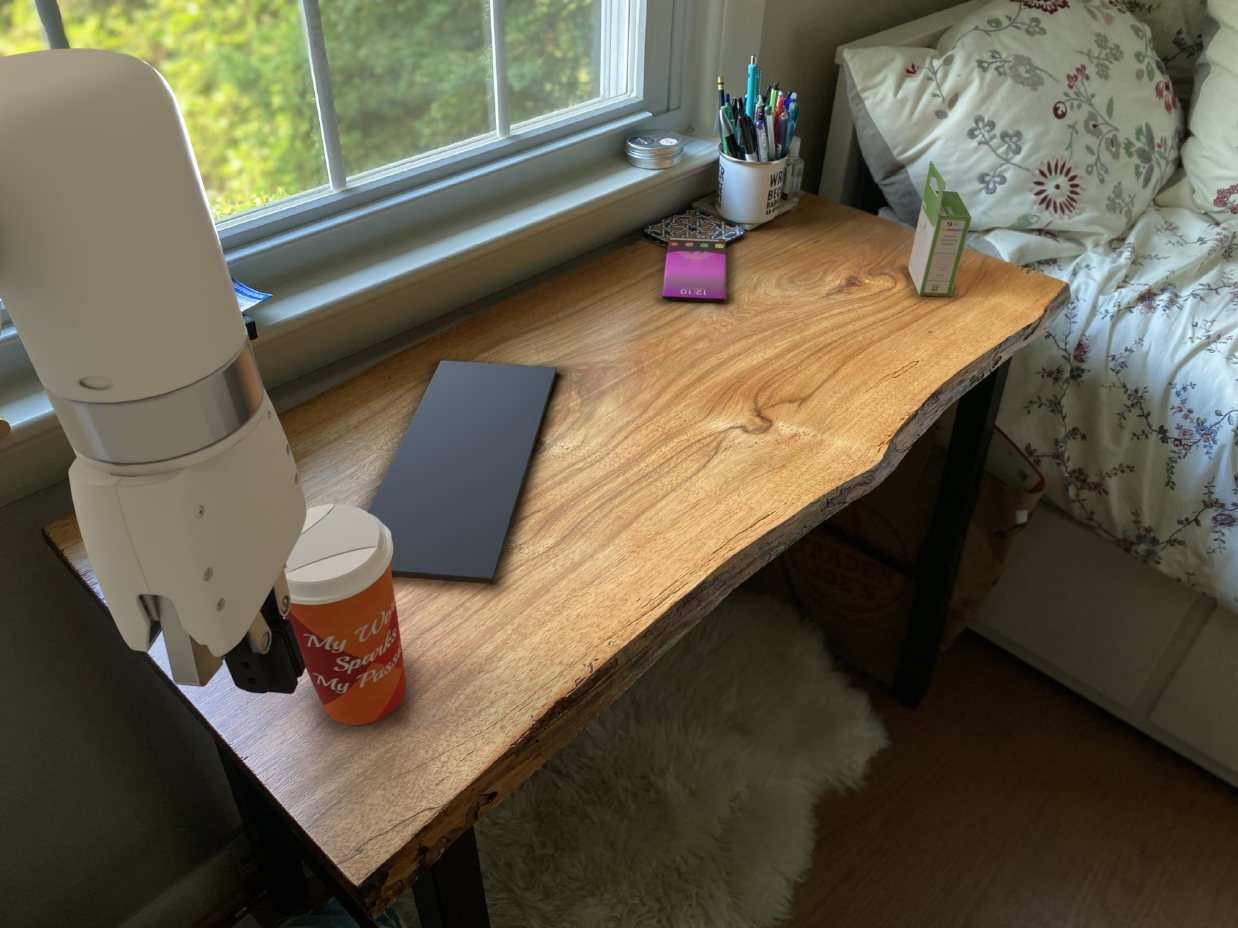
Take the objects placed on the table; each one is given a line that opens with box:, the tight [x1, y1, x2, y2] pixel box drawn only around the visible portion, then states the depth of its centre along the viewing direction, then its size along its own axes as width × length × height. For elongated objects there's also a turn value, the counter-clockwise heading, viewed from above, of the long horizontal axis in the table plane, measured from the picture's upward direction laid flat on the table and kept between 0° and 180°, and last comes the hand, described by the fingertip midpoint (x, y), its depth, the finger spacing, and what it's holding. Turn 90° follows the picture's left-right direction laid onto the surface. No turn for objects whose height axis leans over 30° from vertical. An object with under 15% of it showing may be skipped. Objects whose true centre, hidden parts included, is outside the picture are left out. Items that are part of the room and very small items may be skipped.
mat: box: [366, 360, 558, 585], centre depth 83 cm, size 30×12×1 cm, turn 174°
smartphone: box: [661, 236, 727, 303], centre depth 111 cm, size 7×15×1 cm, turn 175°
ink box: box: [907, 160, 972, 298], centre depth 105 cm, size 7×4×13 cm, turn 177°
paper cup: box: [283, 503, 407, 726], centre depth 59 cm, size 8×8×14 cm
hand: (272, 679), depth 49 cm, fingers closed
